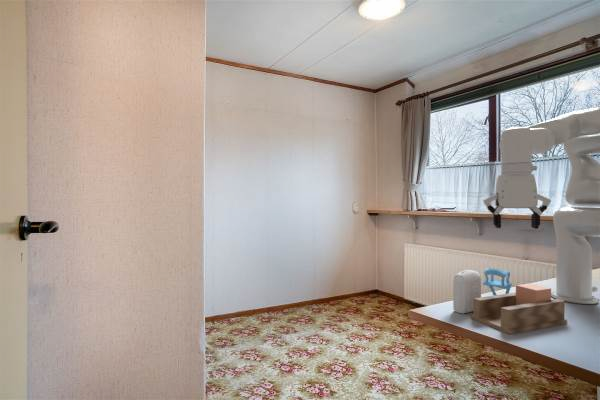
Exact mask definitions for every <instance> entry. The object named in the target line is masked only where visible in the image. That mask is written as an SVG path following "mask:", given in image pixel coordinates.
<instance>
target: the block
mask: <svg viewBox="0 0 600 400" xmlns="http://www.w3.org/2000/svg"><path fill="white" fill-rule="evenodd" d="M551 292H552V288H550V287H547V286H543V285H539V284H533V283H524V284H516V285H515V293H516V305H521V304H528V303H534V302H541V301H547V300H552V296H551Z"/></svg>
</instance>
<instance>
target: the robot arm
mask: <svg viewBox="0 0 600 400" xmlns="http://www.w3.org/2000/svg"><path fill="white" fill-rule="evenodd" d="M499 140H500V141H499V143H498V144H499V147H498V148H499V151H500V152H501V154H500V158H501V159H500V162H501V163H500V174H501V175H498V176H497V179H496V184H495V194H493V195H491V196H488V197H487V198H484V199H483V200H482V201H483V204H484V206H485V207H486V209H487V210H488V211H489V212H491V214H492V215H493V216H492V217H493V218H492V221H493V222H492V223H493V225H494V226H495V227H494V228H496V229H501V228H502V215H501V214H500V213H501V212H502V211H503V210H504V209H529V210H530V211H531V213H532V214H531V215H530V216H531V217H530V218H531V220H530V222H531V228H533V229H537V230H538V229H539V227H540V225H541V215H542V214H543V213H544V212H545V211H546V210H547V209H548V207H549V206H550V204H551V202H552V200H551V199H550V198H548V197H546V196H543V195H541V194H538V186H537V182H536V177H535V174H532V173H533V172H534V171H537V169H538V166H537V165H533V163H532V155H538V154H539V155H540V154H545V153H547V152H549V151H551V150H552V149H553V147H554V146H558V145H562V144H563V148H564V151H565V153H566V156H567V158H568V160H569V163H570V165H571V170H570V176H569V179H568V183H567V187H566V190H565V200H566V202H567V203H568V204H569V205H571V206H567V207H562V208H559V209H557V211H555V212H554V214H553V215H552V216H553V218H552V223H553V226H554V227H553V228H554V231H555V232H554V233H555V239H556V242H555V244H556V253H555V254H556V259H555V260H556V261H555V262H556V265H555V266H556V269H555V270H556V273H555V274H556V275H555V277H556V278H555V280H556V281H555V288H556V289H555V290H551V298H553V299H559V300H563V301H565V302H568V303H573V304H579V305H580V304H582V305H583V304H584V305H595V304H598V303H599V299H598V298H597V297H596V296H593V293H596V292H598V290H599V289H598V287H596V286H595V285H593V249H592V245H591V244H590V242H589V241H588V240H587V239H586V238H585V237H595V238H596V237H597V238H600V162H599V161H598V160H596V159H595V158H594V157H593V156H592V155H591V154H599V153H600V107H594V108H589V109H584V110H583V109H582V110H577V111H571V112H569V113H565V114H562V115H560V116H557V117H555V118H552V119H549V120H545V121H542V122H539V123H538V122H537V123H535V124H532V125H529V126H525V127H524V126H523V127H521V126H520V127H517V126H516V127H510V128H507V129H504V130H503V131H502V133H501V134H500V139H499ZM493 201H494V204H495V207H494V206H493V205H492V204H491V202H493ZM539 201H541V203H542V204H541V205H540V206H539V207H538V202H539Z"/></svg>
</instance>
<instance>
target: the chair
mask: <svg viewBox="0 0 600 400" xmlns="http://www.w3.org/2000/svg"><path fill="white" fill-rule="evenodd" d="M483 274H484V276H485V280H484V281H483V282H482V285H483V286H487V287H488V288H489V289H490V291H491V293H492V296H495V295H497V293H496V291H495V289H494V287H495V288H499V289H504V290H505V293H504V294H509V293H510V290H511V287H512V286H513V283H512V282H510V278H511V277H510V276H511V272H510V271H509V270H506V269H504V270H500V269H498V268H491V267H487V268H485V269H483ZM489 275H490V278H489ZM494 276H498V277H500V278H501V280H500V281H499V280H495V278H494ZM505 278H506V279H505ZM505 280H506V281H505Z"/></svg>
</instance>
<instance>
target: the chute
mask: <svg viewBox="0 0 600 400" xmlns="http://www.w3.org/2000/svg"><path fill="white" fill-rule="evenodd" d="M565 303H566V301H563V300H559V299H556V298H553V299H551V300H547V301H541V302H534V303H528V304H521V305H516V292H511V293H510V292H509V294H505V293H504V294H496V295H495V296H494V295H488V296H481V297H480V298H473V311H472V313H473V314H471V315H470V316H471V317H470V318H471V319H472V320H473V321H477V322H478V323H481V324H483V325H486V326H489V327H490V328H494V329H496V330H498V331H501V332H504V333H506V334H509V335H515V334H520V333H525V332H530V331H537V330H540V329H545V328H550V327H551V328H552V327H555V326H562V325H566V324H568V319H566V318H565V308H566V307H565V305H566V304H565Z"/></svg>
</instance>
